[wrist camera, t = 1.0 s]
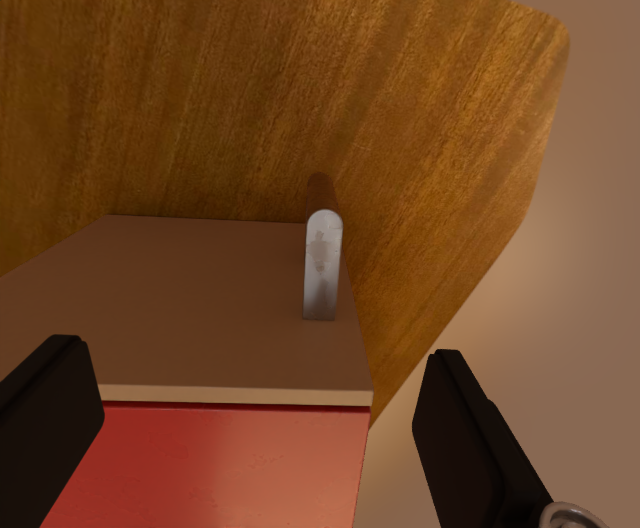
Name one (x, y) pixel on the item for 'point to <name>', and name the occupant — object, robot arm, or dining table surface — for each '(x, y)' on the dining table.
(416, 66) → the dining table surface
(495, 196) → the dining table surface
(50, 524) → the box
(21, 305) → the door
